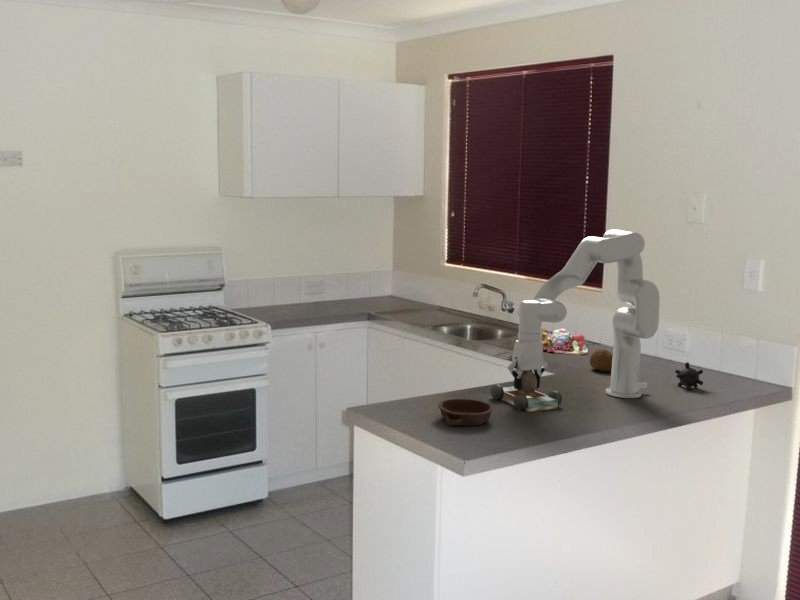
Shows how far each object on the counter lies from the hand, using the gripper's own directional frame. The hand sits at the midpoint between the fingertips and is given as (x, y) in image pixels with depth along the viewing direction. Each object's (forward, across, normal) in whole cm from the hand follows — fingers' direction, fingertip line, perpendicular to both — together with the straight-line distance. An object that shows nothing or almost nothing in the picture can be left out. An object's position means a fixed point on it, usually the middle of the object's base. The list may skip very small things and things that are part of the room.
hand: (526, 387), depth 297 cm
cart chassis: (+5, 0, 0) cm, 5 cm away
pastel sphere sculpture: (+6, -70, -72) cm, 100 cm away
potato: (+6, -59, -29) cm, 66 cm away
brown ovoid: (+2, 0, 0) cm, 2 cm away
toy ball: (+6, -72, +4) cm, 72 cm away
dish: (+5, +31, +11) cm, 34 cm away
